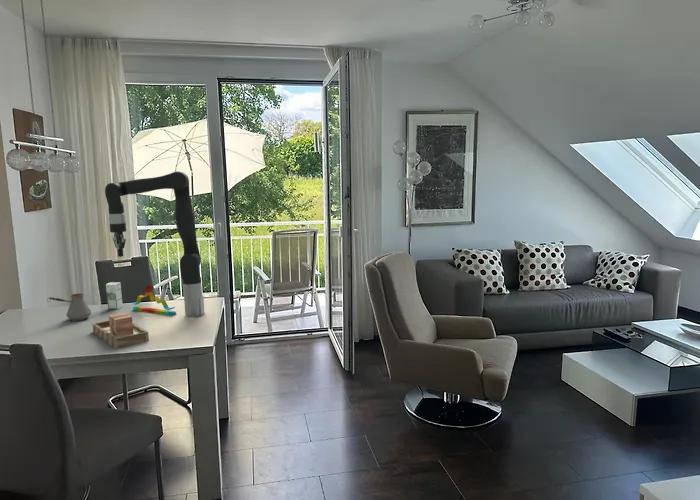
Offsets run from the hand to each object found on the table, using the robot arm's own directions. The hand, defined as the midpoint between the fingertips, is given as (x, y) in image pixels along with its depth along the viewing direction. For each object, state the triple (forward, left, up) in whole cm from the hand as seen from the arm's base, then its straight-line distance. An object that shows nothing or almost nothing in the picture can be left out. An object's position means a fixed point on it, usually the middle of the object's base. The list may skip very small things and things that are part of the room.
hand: (120, 256), depth 252 cm
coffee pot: (+28, +1, -33) cm, 44 cm away
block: (-12, +33, -30) cm, 46 cm away
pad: (-12, +33, -33) cm, 48 cm away
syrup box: (+16, -24, -33) cm, 44 cm away
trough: (-9, +29, -33) cm, 45 cm away
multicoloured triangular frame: (-10, -12, -34) cm, 37 cm away
